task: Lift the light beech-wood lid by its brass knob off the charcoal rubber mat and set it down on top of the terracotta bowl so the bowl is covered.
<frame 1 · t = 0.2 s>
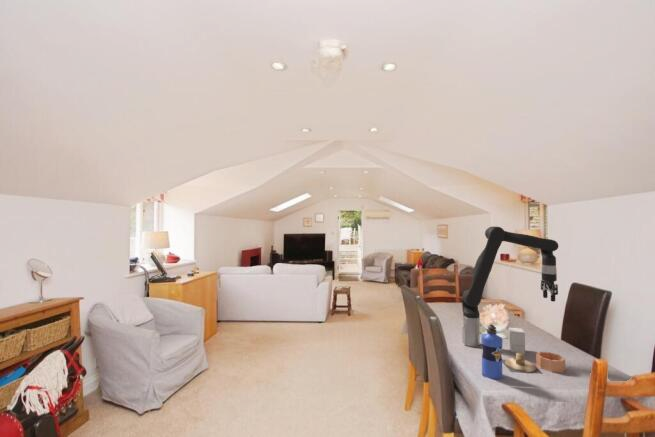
hand: (549, 299, 198), 29 cm above the table, fingers open, 8 cm apart
supplement box: (516, 351, 193), on the table
bowl: (550, 367, 171), on the table
water bottle: (492, 376, 163), on the table
mat: (520, 367, 172), on the table
lid: (520, 366, 172), resting on mat
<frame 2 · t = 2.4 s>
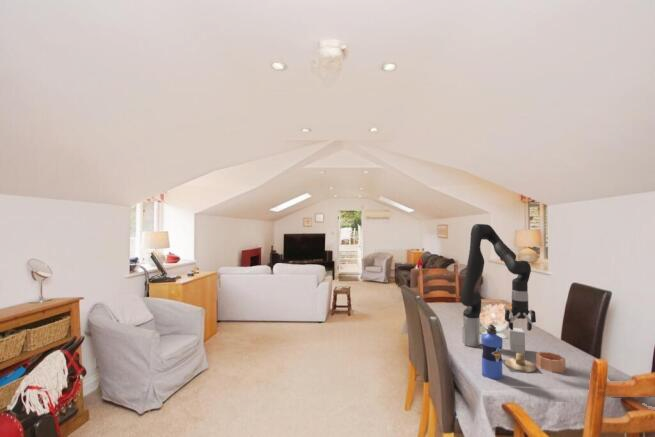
hand: (520, 329, 172), 19 cm above the table, fingers open, 8 cm apart
nothing on the table moved.
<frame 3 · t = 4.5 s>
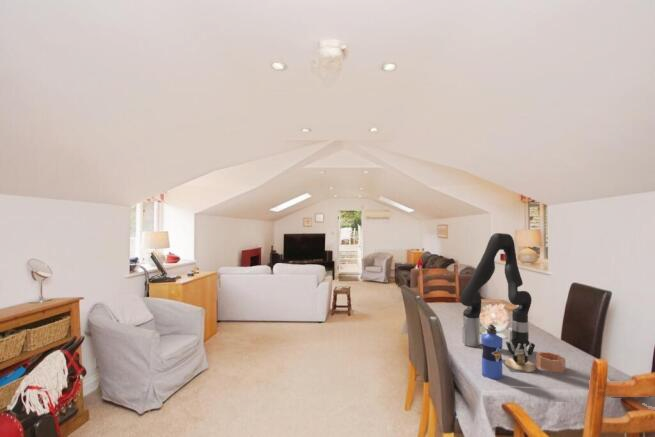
hand: (520, 362, 172), 3 cm above the table, fingers closed on lid, 4 cm apart
lid: (520, 366, 172), resting on mat, touching gripper
everything else where it was.
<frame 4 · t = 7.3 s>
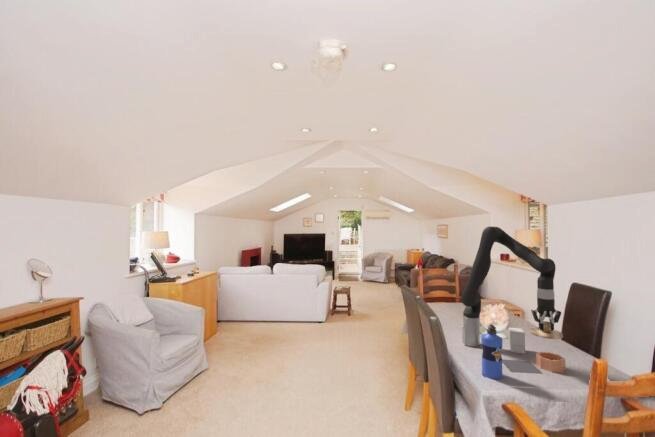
hand: (546, 330, 171), 20 cm above the table, fingers closed on lid, 4 cm apart
lid: (546, 334, 171), point 18 cm above the table, touching gripper
everything else where it was.
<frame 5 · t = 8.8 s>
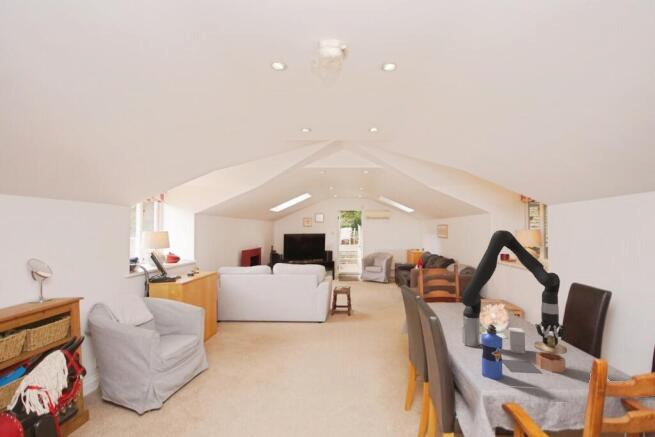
hand: (550, 344, 171), 12 cm above the table, fingers closed on lid, 4 cm apart
lid: (550, 348, 171), point 10 cm above the table, touching gripper
everything else where it was.
when the fingers open (10 cm above the table, at t = 10.1 s): lid drops 1 cm, resting on bowl.
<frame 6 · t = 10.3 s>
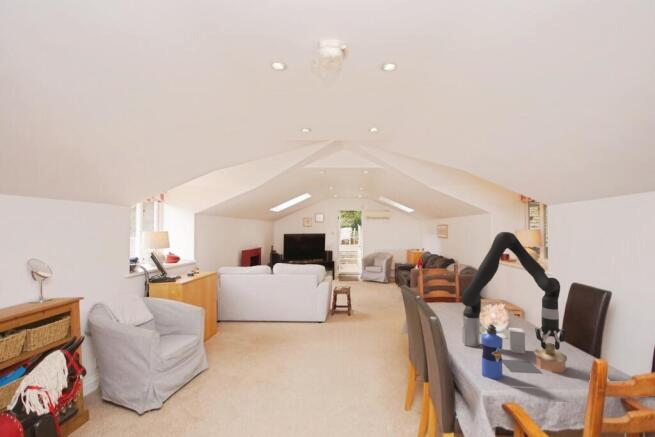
hand: (550, 348, 171), 10 cm above the table, fingers open, 5 cm apart
lid: (550, 356, 171), point 6 cm above the table, touching bowl
everything else where it was.
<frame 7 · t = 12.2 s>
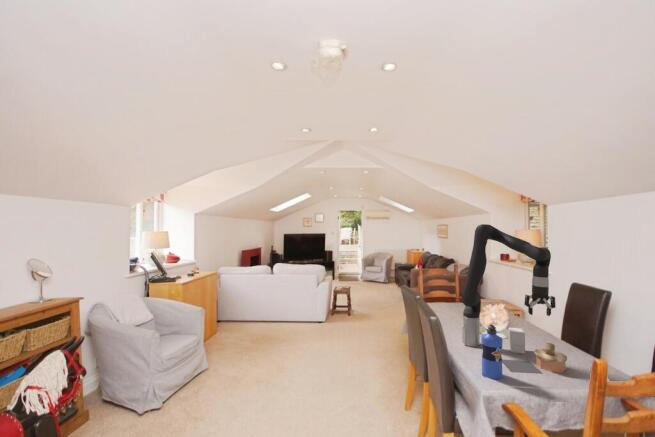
hand: (539, 315, 176), 26 cm above the table, fingers open, 8 cm apart
nothing on the table moved.
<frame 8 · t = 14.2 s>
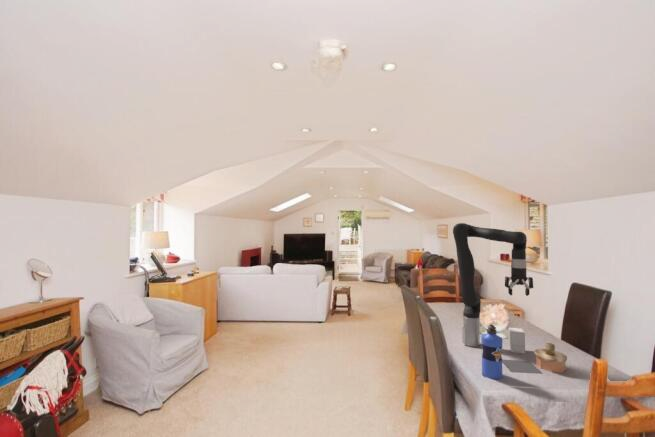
hand: (518, 295, 187), 34 cm above the table, fingers open, 8 cm apart
nothing on the table moved.
at the end: lid 0.1 cm off-centre on the bowl, point 6.0 cm above the bowl's base; lid tilted 0°; lid touching bowl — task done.
